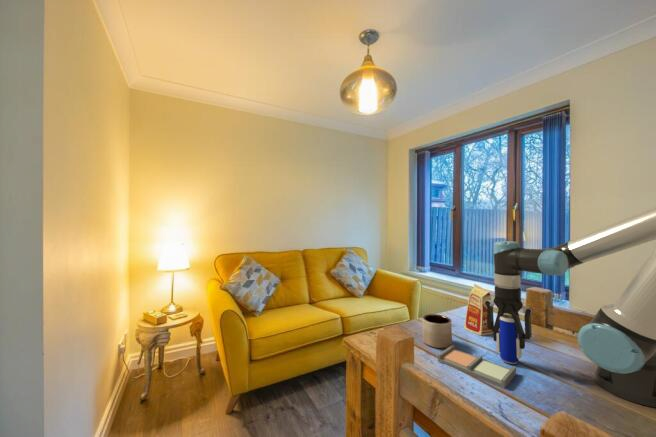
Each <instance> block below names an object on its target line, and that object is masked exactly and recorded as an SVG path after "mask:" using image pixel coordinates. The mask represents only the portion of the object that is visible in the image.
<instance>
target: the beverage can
mask: <svg viewBox="0 0 656 437" xmlns="http://www.w3.org/2000/svg"><path fill="white" fill-rule="evenodd" d="M499 325H500V328H499V329H500V330H499V331H500V356H499V357H500V360H502V361H503V362H504V363H506V364H510V365H516V364H518V363H519V359H518V358H517V346H516V338H517V337H518V333H517V330H516V327H515V321H514V319H513V318H512V316H511V315H510V314H504V315H503V316H500V323H499Z"/></svg>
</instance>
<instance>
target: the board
mask: <svg viewBox="0 0 656 437" xmlns="http://www.w3.org/2000/svg"><path fill="white" fill-rule="evenodd" d="M437 362H438V363H442V364H444V365H446V366H449V367H452V368H454V369H456V370H458V371H461V372H462V373H466V374H467V375H470V376H473V377H475V378H478V379H480V380H483V381H484V382H485V381H486V382H487V383H490V384H492V385H495V386H498V387H500V388H502V389H505V388H506V387H508V385H509V384H510V382H511V381H512V380H513V378H515V376H517V366H514V365H512V366H511V368H510V367H506V366H503V365H501V364H499V363H497V362H496V363H495V362H492V361H490V360H488V359H487V360H486V359H484V358H483V355H480V354H479V355H478V356H475V355H473V354H470V353H467V352H464V351H462V350H459V349H456V347H455V345H454V344H452V345H451V346H450V347H448V348H445V349H443V351H441V352H440V353H438V354H437Z"/></svg>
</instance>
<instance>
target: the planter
mask: <svg viewBox="0 0 656 437" xmlns="http://www.w3.org/2000/svg"><path fill="white" fill-rule="evenodd" d="M452 327H453V326H452V319H451V318H450V317H447V316H445V315H441V314H437V313H436V314H434V313H432V314H431V313H429V314H425V315H423V316H422V342H423V343H424V344H425V345H426V346H428V347H430V348H434V349H440V350H441V349H443V350H445V349H447V348H449V347H450V346H451V345H453V335H452V334H453V333H452V330H453V328H452Z"/></svg>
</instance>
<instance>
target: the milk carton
mask: <svg viewBox="0 0 656 437" xmlns="http://www.w3.org/2000/svg"><path fill="white" fill-rule="evenodd" d="M473 285H474V287H473V288H472V289H471V290H470V291H469V292H470V293H469V296H468V300H467V306H466V312H465V317H464V318H465V319H464V326H463V329H464V330H466V331H468V332H471V333H472V334H473V333H474V334H476V335H479V336H487V335H492V334H493V331H492V330H491V329H488V328H487V306H486V303H485V302H486V301H487V300H492V295H491V292H492V291H491V290H489V289H486V288H483V287H482V286H480V285H478V284H476V283H473ZM494 324H495V320H494V317H493V326H494Z"/></svg>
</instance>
